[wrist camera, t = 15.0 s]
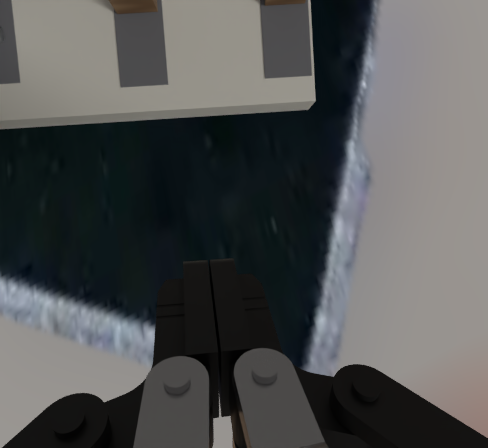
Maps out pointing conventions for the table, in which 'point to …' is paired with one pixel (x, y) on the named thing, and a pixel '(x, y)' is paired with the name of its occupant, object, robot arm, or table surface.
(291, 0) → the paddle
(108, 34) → the switch panel
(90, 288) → the table surface
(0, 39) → the left lever
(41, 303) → the table surface
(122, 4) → the middle paddle
